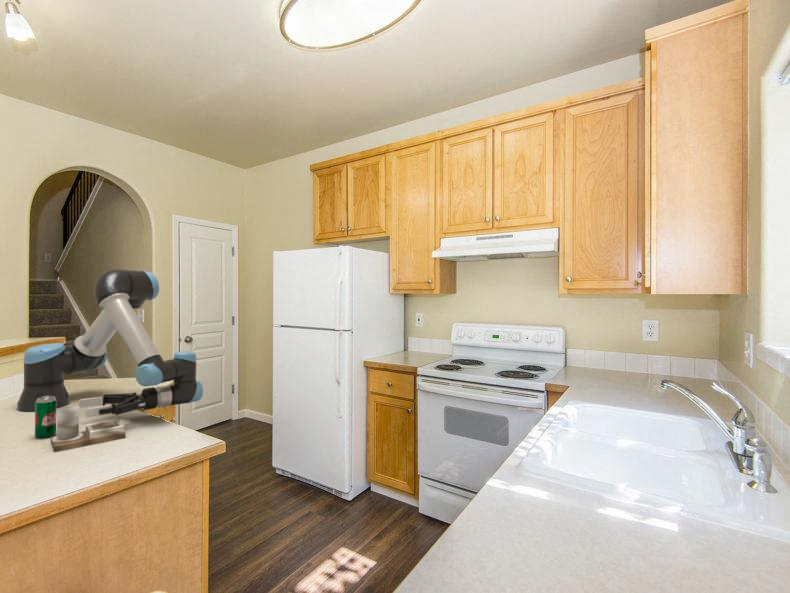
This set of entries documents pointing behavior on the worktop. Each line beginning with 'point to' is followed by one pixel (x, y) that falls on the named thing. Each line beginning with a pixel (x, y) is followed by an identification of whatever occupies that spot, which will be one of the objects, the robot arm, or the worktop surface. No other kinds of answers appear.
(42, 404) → the soda can
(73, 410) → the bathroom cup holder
